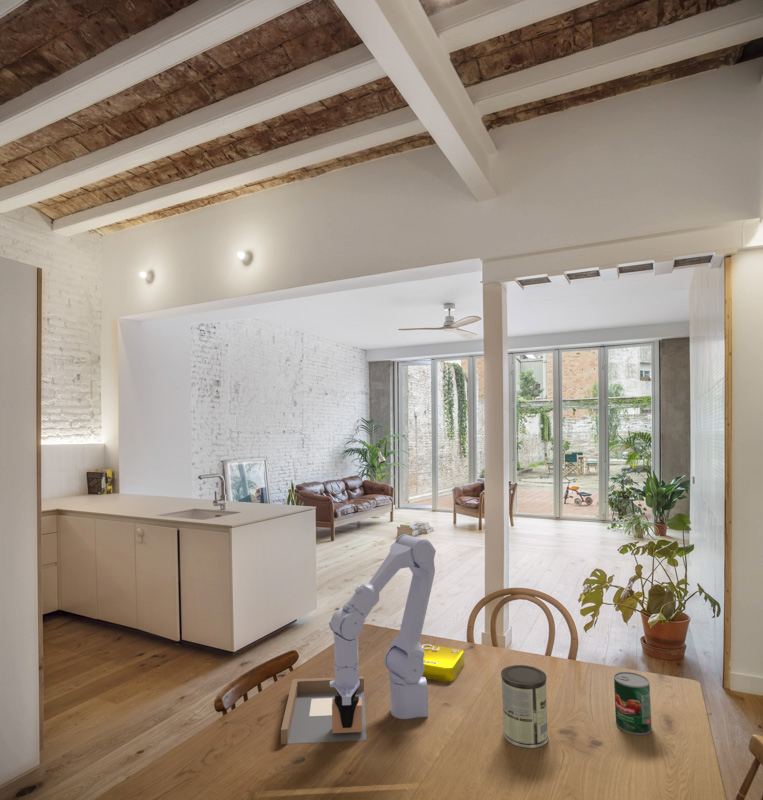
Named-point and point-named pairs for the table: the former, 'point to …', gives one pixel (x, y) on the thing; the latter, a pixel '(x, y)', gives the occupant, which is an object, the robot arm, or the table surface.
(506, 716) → the coffee can
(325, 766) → the table surface
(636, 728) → the canned tomato
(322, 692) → the arena
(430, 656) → the element tile
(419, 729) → the table surface
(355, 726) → the block
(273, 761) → the table surface
